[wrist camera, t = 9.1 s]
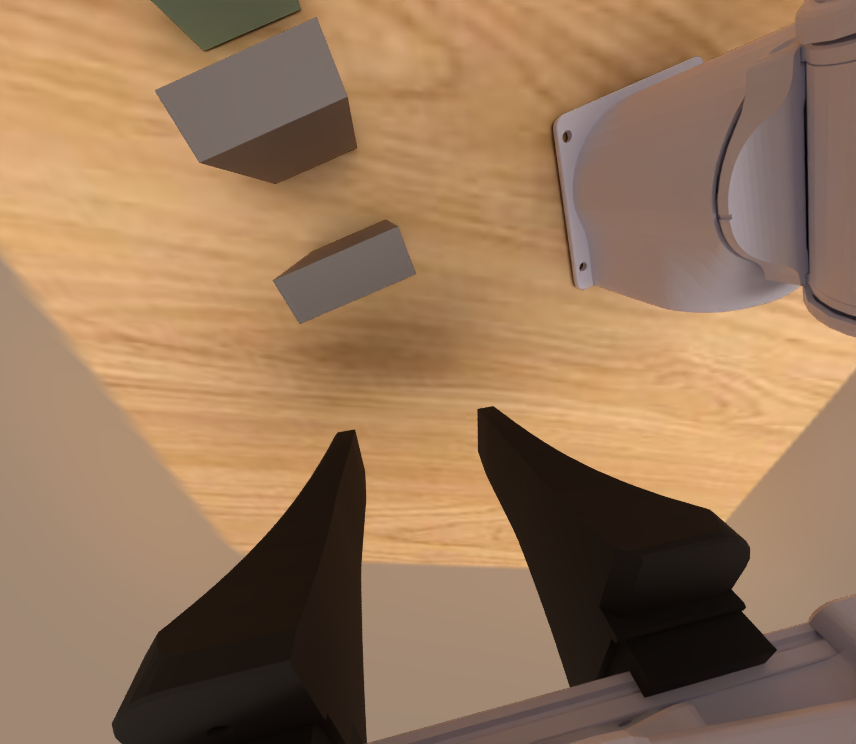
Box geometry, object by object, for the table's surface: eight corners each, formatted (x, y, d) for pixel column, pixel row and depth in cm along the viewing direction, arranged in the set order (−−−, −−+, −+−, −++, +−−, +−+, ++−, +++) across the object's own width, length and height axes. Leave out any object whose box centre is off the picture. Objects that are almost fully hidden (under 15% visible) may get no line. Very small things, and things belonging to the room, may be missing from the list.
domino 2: (397, 249, 18) (416, 274, 11) (326, 279, 18) (299, 324, 11) (385, 219, 17) (397, 226, 10) (311, 251, 17) (273, 280, 10)
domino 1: (356, 147, 16) (347, 96, 9) (275, 183, 16) (199, 162, 9) (341, 108, 15) (316, 16, 8) (255, 146, 15) (154, 90, 8)
